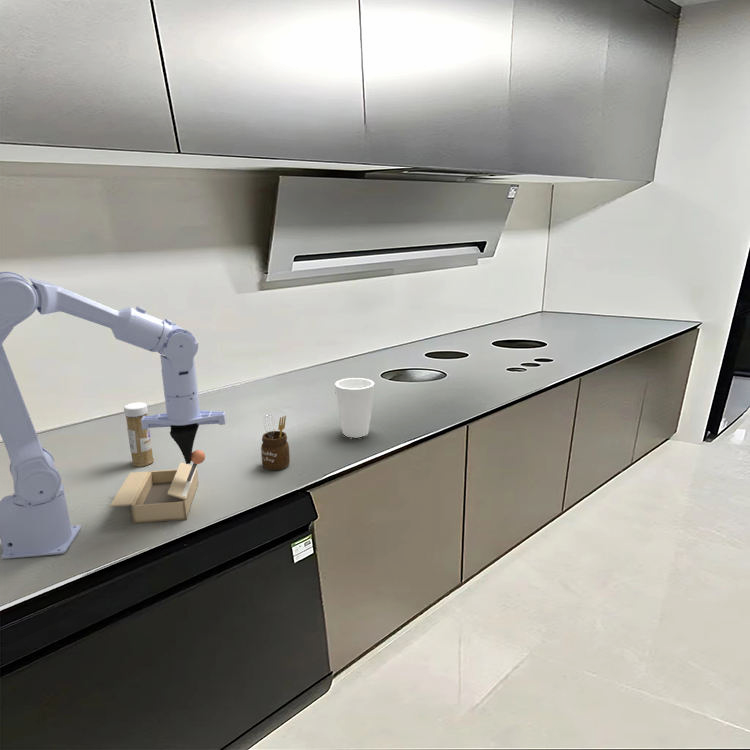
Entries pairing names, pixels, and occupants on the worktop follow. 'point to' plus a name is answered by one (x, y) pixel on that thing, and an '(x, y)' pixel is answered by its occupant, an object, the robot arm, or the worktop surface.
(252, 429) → the worktop surface
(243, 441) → the worktop surface
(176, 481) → the flap
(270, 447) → the utensil holder
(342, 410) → the foam cup
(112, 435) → the worktop surface
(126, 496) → the carton
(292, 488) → the worktop surface
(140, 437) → the sprinkles bottle
